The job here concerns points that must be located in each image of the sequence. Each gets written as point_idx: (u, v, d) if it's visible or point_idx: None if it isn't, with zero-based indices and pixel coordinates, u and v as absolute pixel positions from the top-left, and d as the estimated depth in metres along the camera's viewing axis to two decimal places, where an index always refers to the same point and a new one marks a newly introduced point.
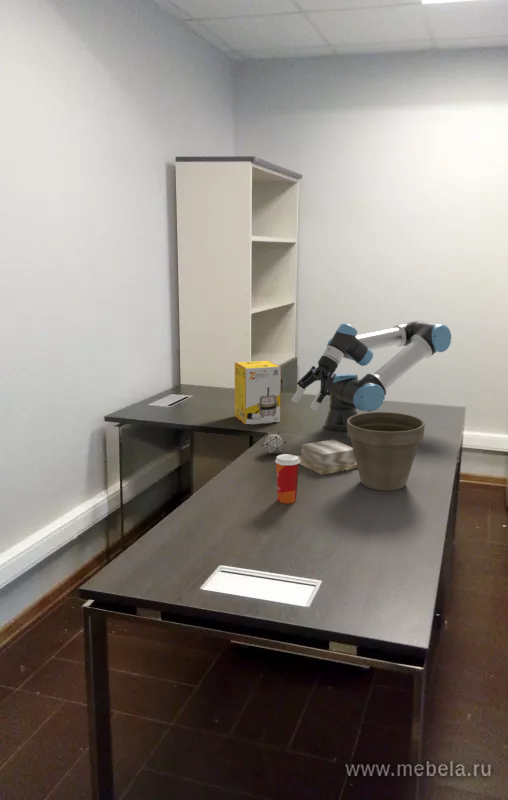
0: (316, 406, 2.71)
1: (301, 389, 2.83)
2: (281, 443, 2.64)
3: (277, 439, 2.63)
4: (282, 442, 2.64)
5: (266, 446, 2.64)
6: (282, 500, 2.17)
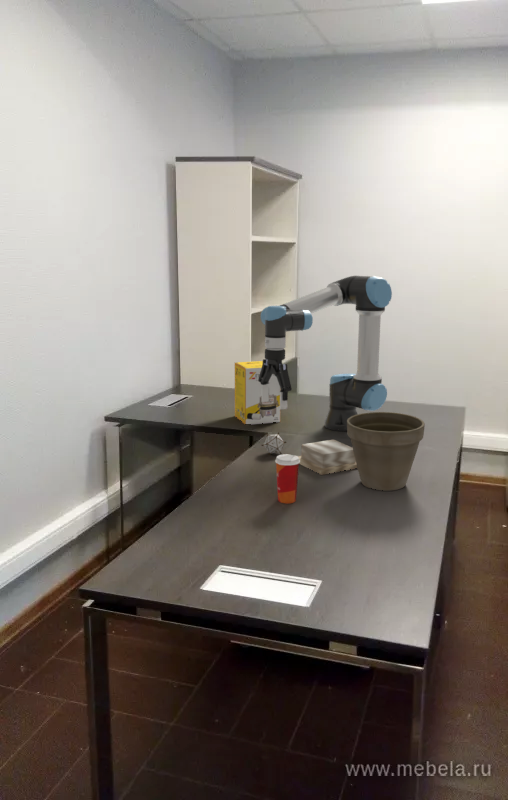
0: (285, 404, 2.56)
1: (265, 386, 2.66)
2: (281, 443, 2.64)
3: (277, 439, 2.63)
4: (282, 442, 2.64)
5: (266, 446, 2.64)
6: (282, 500, 2.17)
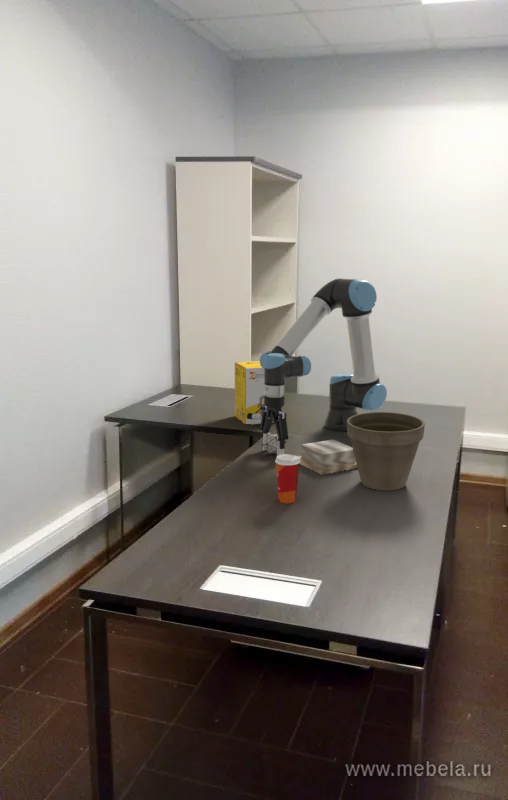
0: (282, 452, 2.62)
1: (266, 435, 2.69)
2: None
3: (277, 439, 2.63)
4: None
5: (266, 446, 2.64)
6: (282, 500, 2.17)
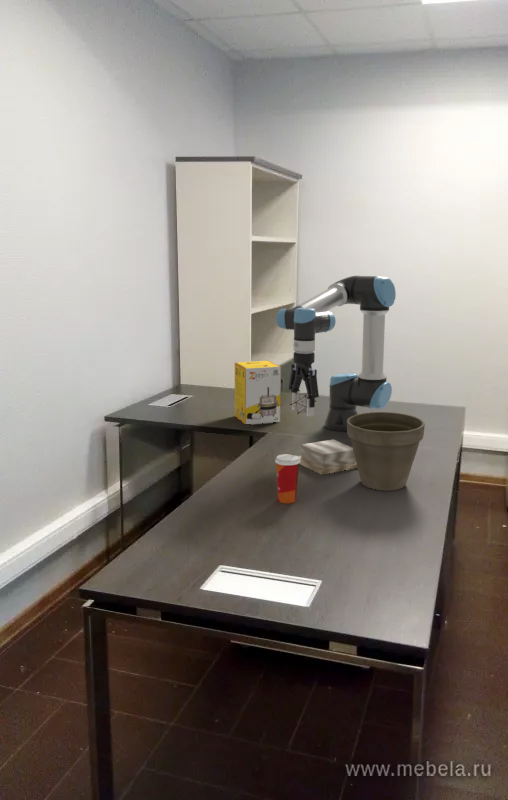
0: (312, 411, 2.51)
1: (295, 394, 2.59)
2: None
3: (306, 397, 2.52)
4: None
5: (295, 405, 2.54)
6: (282, 500, 2.17)
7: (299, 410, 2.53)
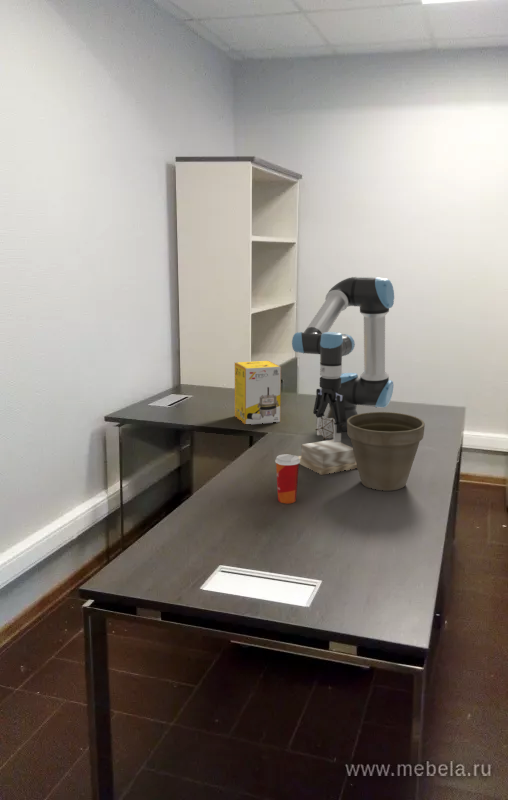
0: (339, 437, 2.47)
1: (320, 419, 2.55)
2: None
3: (333, 423, 2.49)
4: None
5: (321, 430, 2.50)
6: (282, 500, 2.17)
7: (325, 436, 2.50)
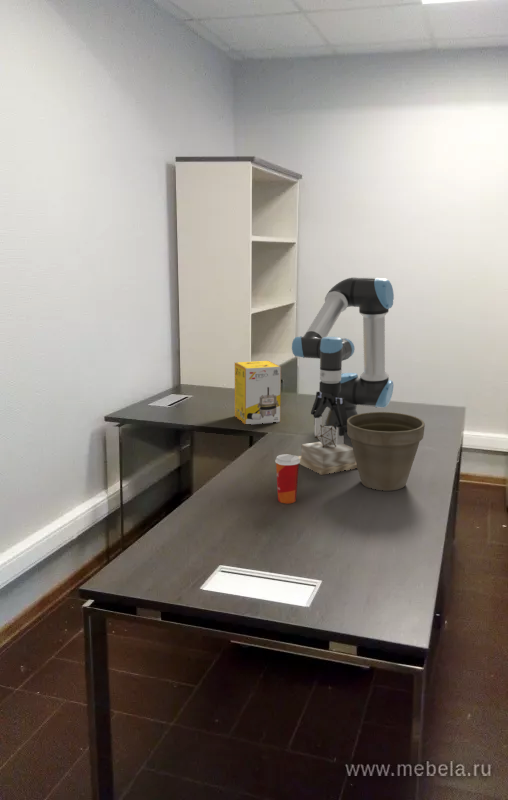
0: (341, 439, 2.46)
1: (318, 419, 2.56)
2: None
3: (332, 431, 2.50)
4: None
5: (320, 438, 2.51)
6: (282, 500, 2.17)
7: (324, 443, 2.51)
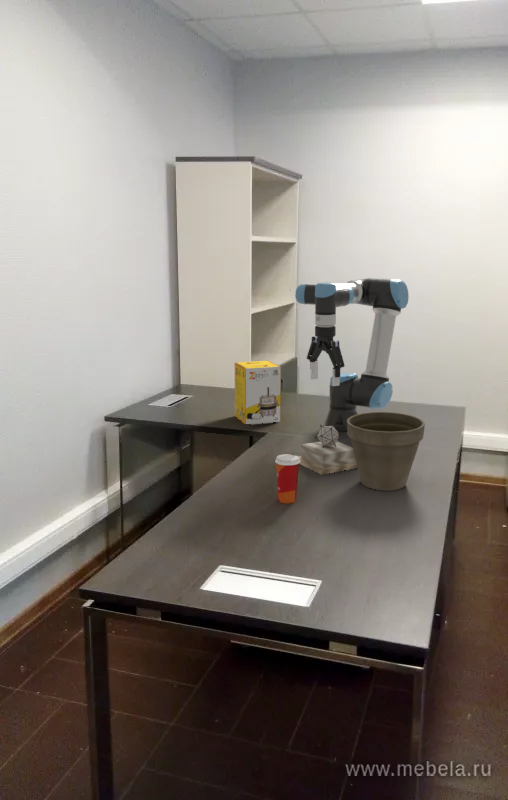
0: (337, 381, 2.57)
1: (314, 364, 2.67)
2: (336, 435, 2.50)
3: (332, 431, 2.50)
4: (337, 434, 2.51)
5: (320, 438, 2.51)
6: (282, 500, 2.17)
7: (324, 443, 2.51)
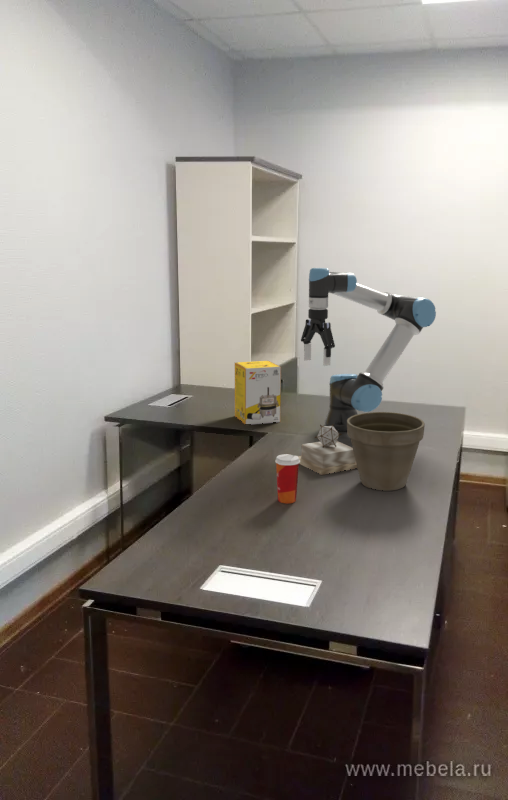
0: (328, 361, 2.71)
1: (307, 345, 2.82)
2: (336, 435, 2.50)
3: (332, 431, 2.50)
4: (337, 434, 2.51)
5: (320, 438, 2.51)
6: (282, 500, 2.17)
7: (324, 443, 2.51)
